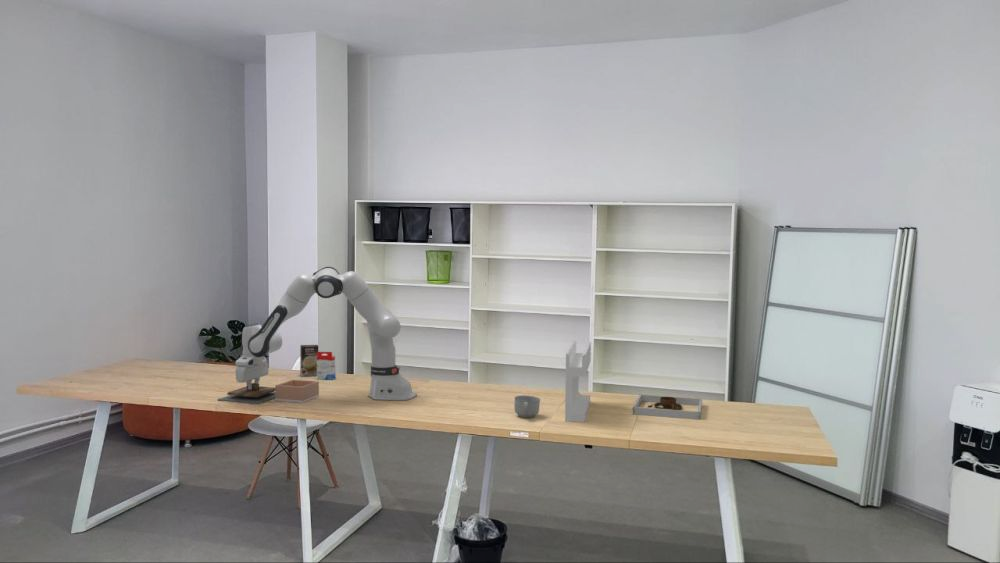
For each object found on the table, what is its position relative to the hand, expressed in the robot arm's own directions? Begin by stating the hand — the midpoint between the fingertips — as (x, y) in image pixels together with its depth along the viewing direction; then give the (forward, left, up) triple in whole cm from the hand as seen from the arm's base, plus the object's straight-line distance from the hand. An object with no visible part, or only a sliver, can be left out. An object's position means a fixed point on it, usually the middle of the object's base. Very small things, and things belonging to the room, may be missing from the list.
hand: (253, 388), depth 345 cm
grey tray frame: (-186, -37, -4) cm, 190 cm away
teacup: (-130, -5, -4) cm, 130 cm away
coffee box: (+2, -52, -4) cm, 52 cm away
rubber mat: (0, 0, -4) cm, 4 cm away
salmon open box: (-21, -4, -4) cm, 22 cm away
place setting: (-185, -36, -5) cm, 188 cm away
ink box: (-11, -47, -4) cm, 48 cm away
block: (-149, -21, -4) cm, 150 cm away
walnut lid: (0, 0, -2) cm, 2 cm away
